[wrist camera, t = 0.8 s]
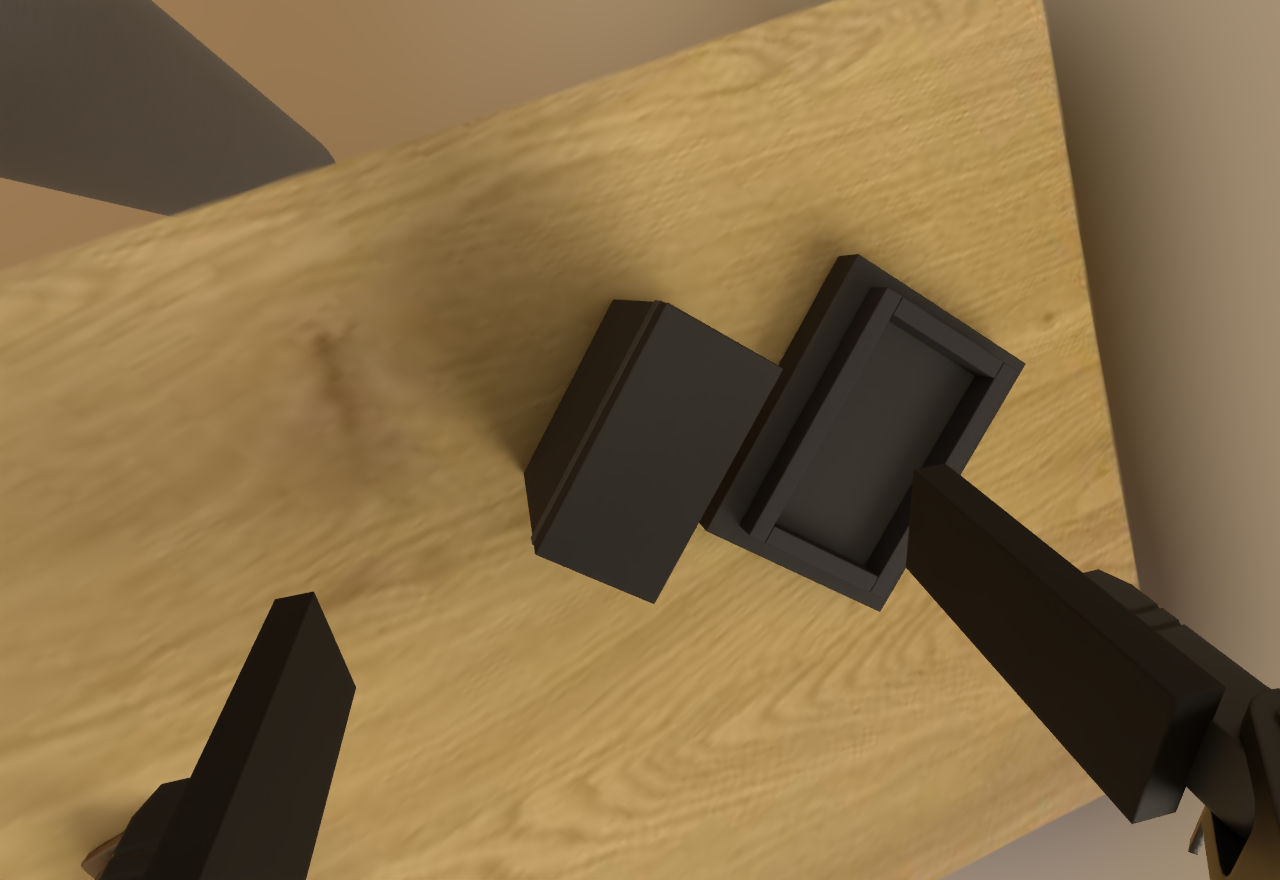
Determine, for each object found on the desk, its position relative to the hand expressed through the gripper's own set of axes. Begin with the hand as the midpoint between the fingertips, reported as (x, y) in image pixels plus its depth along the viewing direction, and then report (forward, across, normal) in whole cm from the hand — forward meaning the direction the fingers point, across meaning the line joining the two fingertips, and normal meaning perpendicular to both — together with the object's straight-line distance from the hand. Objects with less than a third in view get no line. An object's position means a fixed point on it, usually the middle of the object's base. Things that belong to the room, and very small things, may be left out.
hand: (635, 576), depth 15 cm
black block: (+20, +2, -5) cm, 20 cm away
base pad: (+19, +15, -9) cm, 26 cm away
